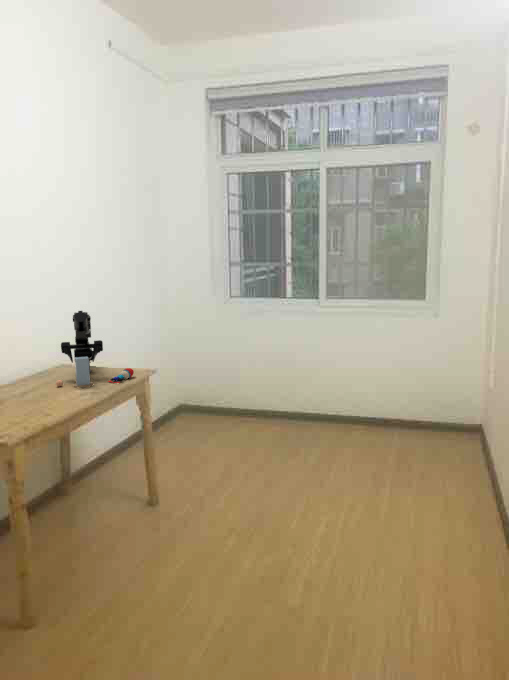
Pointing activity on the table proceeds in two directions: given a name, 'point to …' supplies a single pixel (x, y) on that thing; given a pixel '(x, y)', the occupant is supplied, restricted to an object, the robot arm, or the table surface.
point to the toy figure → (123, 375)
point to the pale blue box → (82, 371)
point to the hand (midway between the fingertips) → (82, 361)
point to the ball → (59, 383)
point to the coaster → (83, 385)
